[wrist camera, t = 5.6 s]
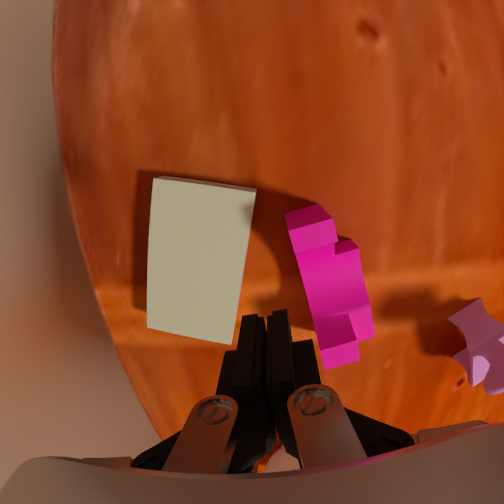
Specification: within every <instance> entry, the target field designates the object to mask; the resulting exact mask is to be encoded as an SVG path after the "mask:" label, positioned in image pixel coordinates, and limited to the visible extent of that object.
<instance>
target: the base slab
mask: <svg viewBox="0 0 504 504" xmlns="http://www.w3.org/2000/svg"><path fill="white" fill-rule="evenodd" d="M256 193H257V189H255V188H249V187H242V186H236V185H229V184H223V183H216V182H209V181H202V180H195V179H187V178H179V177H171V176H160V177H156V178H153V188H152V199H151V211H150V225H149V242H148V267H147V327H148V328H152V329H156V330H160V331H165V332H169V333H174V334H178V335H183V336H188V337H193V338H198V339H203V340H208V341H213V342H219V343H224V344H230V345H231V343H232V338H233V333H234V328H235V321H236V315H237V309H238V303H239V296H240V290H241V284H242V278H243V272H244V266H245V259H246V253H247V247H248V241H249V235H250V229H251V223H252V217H253V211H254V205H255V199H256Z"/></svg>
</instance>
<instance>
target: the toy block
mask: <svg viewBox="0 0 504 504" xmlns="http://www.w3.org/2000/svg"><path fill="white" fill-rule="evenodd" d="M284 215H285V219H286V223H287V227H288V231H289V235H290V238H291V242H292V245H293V249H294V253H295V255H296V259H297V262H298V266H299V269H300V273H301V276H302V280H303V284H304V288H305V291H306V295H307V299H308V303H309V307H310V311H311V315H312V319H313V323H314V327H315V331H316V335H317V339H318V344H319V348H320V352H321V356H322V360H323V365H324V369H325V370H326V369H330V368H334V367H337V366H341V365H345V364H348V363H352V362H355V361H358V360H360V357H359V350H358V343H357V342H360V341H364V340H367V339H370V338H373V337H375V335H374V326H373V318H372V311H371V305H370V302H369V298H368V295H367V291H366V287H365V283H364V278H363V274H362V268H361V262H360V254H359V248H358V246H357V245H356V244H355V243H354V242H353V241H352V240H351V239H349V240H345V241H342V242H338V238H337V234H336V230H335V225H334V221H333V218H332V217H331V216H330V215H329V214H328V213H327V212H326V211H325V210H324V209H323V208H322V207H321V206H320V204H315V205H312V206H308V207H304V208H301V209H297V210H294V211H290V212H287V213H284ZM335 242H338V243H335Z"/></svg>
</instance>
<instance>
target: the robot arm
mask: <svg viewBox="0 0 504 504" xmlns="http://www.w3.org/2000/svg"><path fill="white" fill-rule="evenodd" d="M276 428H277V432H278V435H279V439H280V443H281V444H284V447H285V451H286V453H288V454H289V455H291V456H293V457H294V458H296V459H298V463H299V467H300V469H299V470H291V471H281V472H268V473H257V471H258V467H259V462H258V460H259V459H260V458H262V457H263V456H264V455H265V454H271V445H276ZM0 504H504V422H501V423H492V424H488V423H487V422H484V421H481V420H476V421H469V422H465V423H460V424H455V425H449V426H444V427H437V428H431V429H424V430H418V434H409V433H407V432H405V431H403V430H401V429H398V428H395V427H393V426H390V425H387V424H384V423H382V422H379V421H377V420H374V419H372V418H369V417H366V416H364V415H361V414H359V413H357V412H354V411H352V410H349V409H347V408H345V407H343V405H342V403H341V401H340V399H339V397H338V395H337V393H336V392H335V390H334V389H332V388H330V387H329V386H326V385H322V384H321V381H320V376H319V370H318V365H317V360H316V355H315V350H314V345H313V341H312V339H309V340H303V341H297V342H292V336H291V330H290V324H289V318H288V312H287V309H284V310H278V311H273V312H272V315H270V316H267V331H266V326H265V321H264V317H258V314H251V315H245V316H242V321H241V327H240V333H239V339H238V345H237V350H231V351H226V352H225V354H224V359H223V363H222V367H221V372H220V376H219V381H218V385H217V390H216V395H213V396H210V397H206V398H204V399H202V400H200V401H199V402H198V403H197V404H196V405H195V406H194V407H193V409H192V410H191V413H190V415H189V417H188V419H187V421H186V423H185V425H184V427H183V429H182V430H181V431H179V432H177V433H176V434H174V435H172V436H171V437H169V438H167V439H166V440H164V441H162V442H160V443H159V444H157V445H155V446H153V447H152V448H150V449H148V450H146V451H145V452H143V453H141V454H140V455H138V456H137V457H136V458H135V459H132V458H131V457H112V458H83V459H79V458H71V457H60V456H59V457H58V456H46V457H37V458H33V459H30V460H27V461H25V462H23V463H22V464H20V466H18V468H17V469H16V470H15V471H14V472H13V473H12V475H11V476H10V478H9V479H8V480H7V482H6V483H5V485H4V486H3V488H2V489H1V491H0Z"/></svg>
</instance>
